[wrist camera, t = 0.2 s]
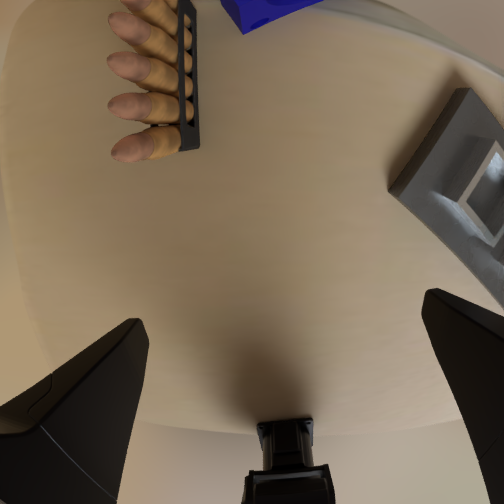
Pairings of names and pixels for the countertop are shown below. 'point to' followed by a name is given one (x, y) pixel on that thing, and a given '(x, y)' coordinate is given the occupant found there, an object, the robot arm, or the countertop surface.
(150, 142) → the ammunition clip
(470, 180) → the grey peg holder base
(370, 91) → the countertop surface
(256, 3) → the cable clip
